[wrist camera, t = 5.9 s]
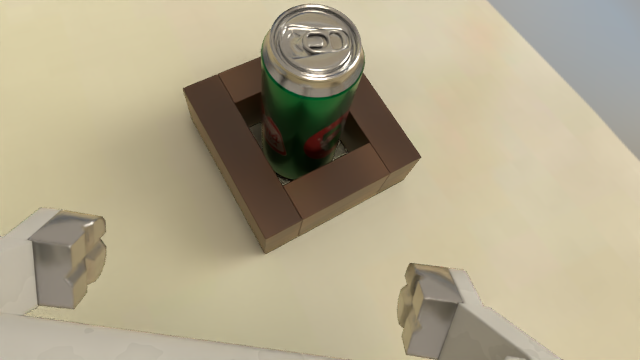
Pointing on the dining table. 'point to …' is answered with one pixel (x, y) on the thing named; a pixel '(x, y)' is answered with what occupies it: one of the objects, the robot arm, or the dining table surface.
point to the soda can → (307, 86)
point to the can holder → (312, 188)
